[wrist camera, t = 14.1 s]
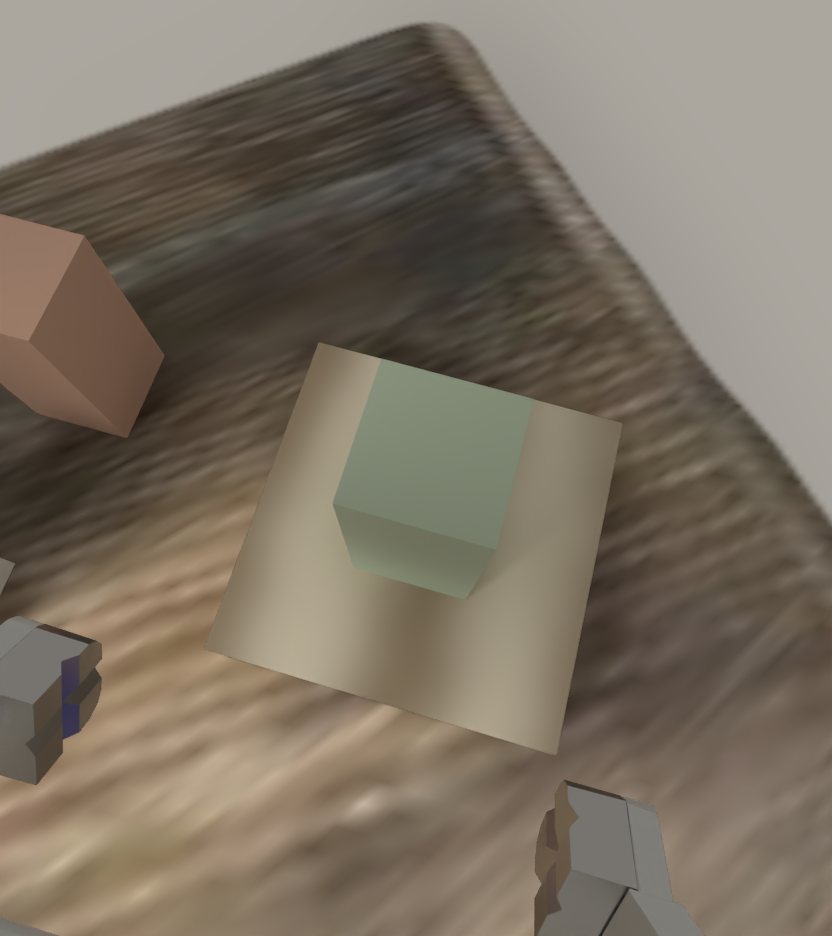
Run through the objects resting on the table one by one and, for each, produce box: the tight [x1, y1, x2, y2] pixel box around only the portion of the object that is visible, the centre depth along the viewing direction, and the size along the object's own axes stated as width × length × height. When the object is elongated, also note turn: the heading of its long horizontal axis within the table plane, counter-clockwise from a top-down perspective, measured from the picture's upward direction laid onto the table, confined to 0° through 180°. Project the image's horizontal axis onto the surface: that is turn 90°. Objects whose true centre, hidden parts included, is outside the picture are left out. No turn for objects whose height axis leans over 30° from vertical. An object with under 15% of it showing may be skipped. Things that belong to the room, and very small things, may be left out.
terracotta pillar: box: [0, 214, 165, 438], centre depth 25 cm, size 4×4×8 cm
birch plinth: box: [204, 342, 623, 756], centre depth 26 cm, size 12×12×3 cm
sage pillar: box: [332, 359, 534, 600], centre depth 20 cm, size 4×4×8 cm
